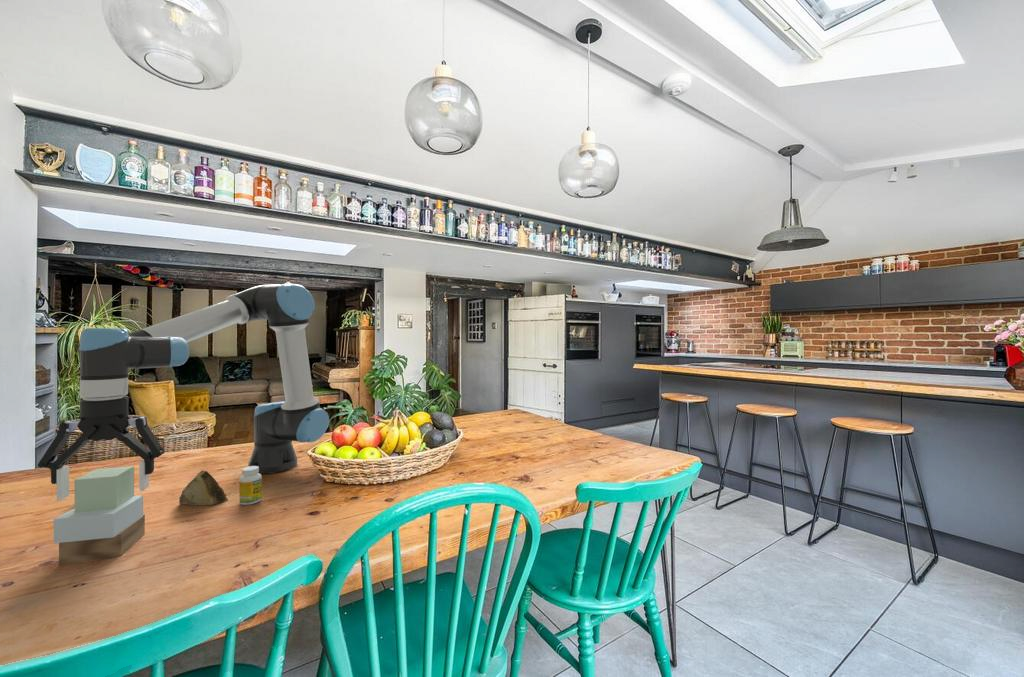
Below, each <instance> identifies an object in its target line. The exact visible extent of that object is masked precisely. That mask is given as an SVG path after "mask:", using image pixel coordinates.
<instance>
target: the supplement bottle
mask: <svg viewBox="0 0 1024 677" xmlns="http://www.w3.org/2000/svg"><path fill="white" fill-rule="evenodd" d="M258 472H259V467H258V466H249V467H248V466H246V467H243V468H242V470H241V474H242V475H241V476H240V477H239V479H238V480H239V481H238V484H239V487H238V488H239V494H238V495H239V497H238V498H239V501H238V502H239V504H240V505H242V506H249V505H254V504H256V503H259V502H261V500H262V491H263V490H262V488H263V487H262V485H263V484H262V482H263V481H262V480H263V478H262V474H259V473H258Z"/></svg>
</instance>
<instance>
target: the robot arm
mask: <svg viewBox="0 0 1024 677" xmlns="http://www.w3.org/2000/svg"><path fill="white" fill-rule="evenodd" d="M314 311H315V300H314V296H313V295H312V293H311V292H310V290H308V289H306V287H305V286H303V285H301V284H297V283H281V284H278V283H276V284H262V285H257V286H253V287H249V288H247V289H244V290H243V291H240V292H237V293H234V294H231V295H228V296H227V297H225V298H224V301H221V302H218V303H215V304H211V305H209V306H206V307H203V308H200V309H197V310H193V311H191V312H189V313H185V314H182V315H180V316H176V317H173V318H170V319H168V320H163V321H161V322H159V323H158V322H157V323H156V324H153V325H150V326H147V327H144V328H141V329H138V330H135V331H132V332H129V331H128V329H126V328H115V327H114V328H107V327H106V328H105V327H103V328H101V327H99V328H98V327H90V328H89V327H87V328H85V329H83V330H81V333H80V337H79V347H78V351H79V365H80V366H79V371H80V376H79V380H80V381H79V397H80V398H81V399H82V400H81V401H80V402H79V416H80V417H79V418H80V420H79V421H73V420H70V419H69V420H67V421H63V422H61V423H59V426H58V432H57V434H56V435H55V437H54V438H53V440H52V441H51V443H50V445H49V446H48V448H47V450H46V451H45V452H44V454H43V456H42V457H41V458H40V460H39V462H38V463H37V467H38V468H46V469H49V470H50V482H51V485H56V501H63V499H65V498H67V497H69V496H70V465H66V464H67V462H68V461H69V460H70V459H71V458H73V456H74V455H76V453H78V452H79V451H80V450H81V449H82V448H83V447H84V446H85V445H86V444H87V443H88V442H89V441H92V442H99V441H102V440H104V441H112V440H115V439H116V440H118V441H119V442H121V443H123V444H124V445H125V446H127V447H128V448H129V449H130V450H132V452H134V453H135V454H137V455H138V456H139V458H141V459H142V460H140V461H139V470H138V472H139V473H138V474H139V477H138V478H139V482H138V483H139V486H138V487H139V492H142V491H145V490H146V489H148V488H149V487H150V477H149V476H150V475H151V474H153V473H154V471H155V459H157V458H159V457H161V456H162V455H163V454H165V452H166V451H165V449H164V448H163V446H162V445H161V442H159V440H158V439H157V437H156V435H154V433H153V431H152V429H151V428H150V427H149V425H148V424H149V423H148V420H147V419H148V418H147V417H146V416H144V415H143V416H139V417H136V418H130V416H129V398H128V397H127V395H128V394H129V370H136V369H154V368H171V367H179V366H182V365H184V364H185V363H186V362H187V361H188V359H189V357H190V346H189V342H192V341H195V340H197V339H200V338H202V337H205V336H207V335H210V334H213V333H216V332H217V331H220V330H223V329H226V328H227V327H231V326H232V325H235V324H238V325H244V324H247V323H248V322H253V321H261V320H268V326H269V328H270V329H271V330H273V331H274V332H275V338H276V344H277V345H276V346H277V352H278V358H279V359H278V360H279V366H280V371H281V378H282V380H281V381H282V385H283V392H284V401H276V402H275V401H274V402H268V403H263V404H258V405H257V406H255V408H254V413H253V433H254V434H253V437H254V438H253V442H254V443H253V444H254V445H253V450H252V453H251V456H250V458H249V461H248V463H247V464H248V465H247V467H249V466H258V467H259V472H258V473H259V474H261V475H263V474H264V475H265V474H272V473H279V472H284V471H287V470H290V469H292V468H294V467H296V466H297V465H298V456H297V454H296V453H297V452H296V450H295V448H294V445H293V442H297V443H303V444H305V443H314V442H315V443H316V442H317V441H318V440H320V439H321V438H322V437H323V436H324V435H325V432H326V431H327V429H328V427H329V424H330V423H329V422H330V416H329V414H328V411H326V410H325V409H324V408H322V407H320V405H321V404H320V400H319V398H317V397H316V396H314V390H313V382H312V375H311V367H310V366H311V365H310V360H309V359H310V358H309V352H308V346H307V345H308V344H307V337H306V331H305V329H306V327H307V326H309V324H310V321H309V318H310V317H312V315H313V312H314ZM130 425H132V428H134V429H136V431H137V433H138V434H139V435H140V437H141V438H142V440H143V442H144V443H145V444H146V445H145V444H144V443H143V442H141V441H140V440H139V439H137V438H136V437H135V436H134V435H133V433H132V432H131V431H130V430H128V429H127V428H128V427H130ZM76 429H78V430H79V431H80V432H81V433H82V434H81V435H80V436H79V437H78V438H77V439H76V440H75V441H74V443H72V445H70V446H69V447H68V448H67V449H66V450H65V451H64V452H63V453H62V454H61V455H60V456H59V457H57V456H58V454H59V453H60V452H61V450H62V449H63V447H64V446H65V444H66V443H67V441H68V439H69V437H71V434H72V432H74V431H76ZM56 458H57V459H56Z"/></svg>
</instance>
